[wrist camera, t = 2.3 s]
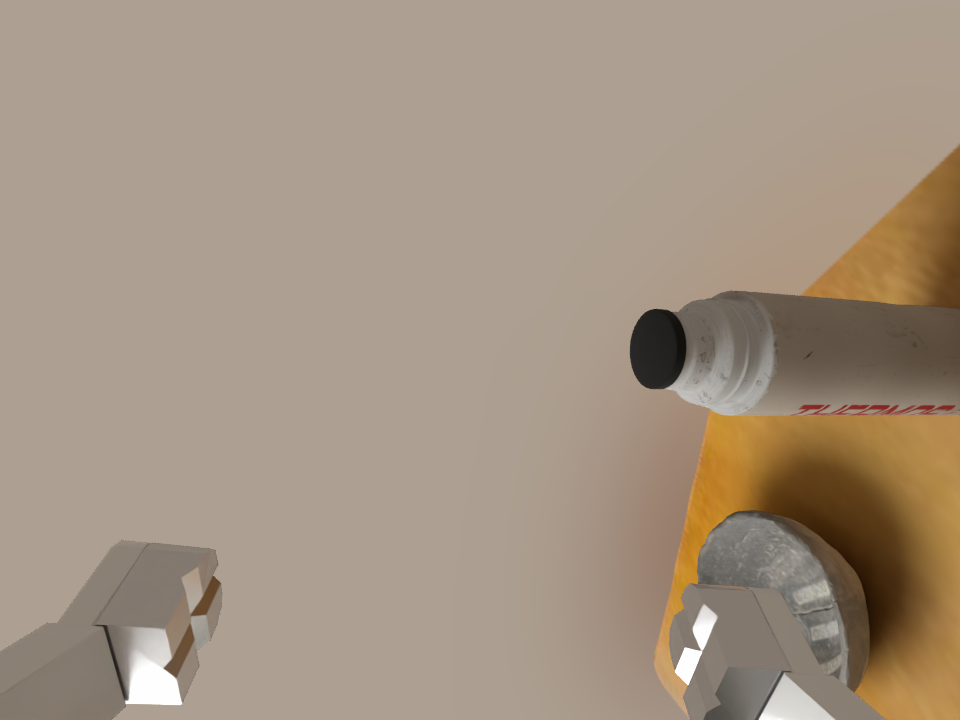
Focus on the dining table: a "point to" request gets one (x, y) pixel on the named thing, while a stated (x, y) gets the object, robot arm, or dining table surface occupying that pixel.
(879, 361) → the thermos bottle
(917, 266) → the dining table surface
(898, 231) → the dining table surface
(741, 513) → the bowl
